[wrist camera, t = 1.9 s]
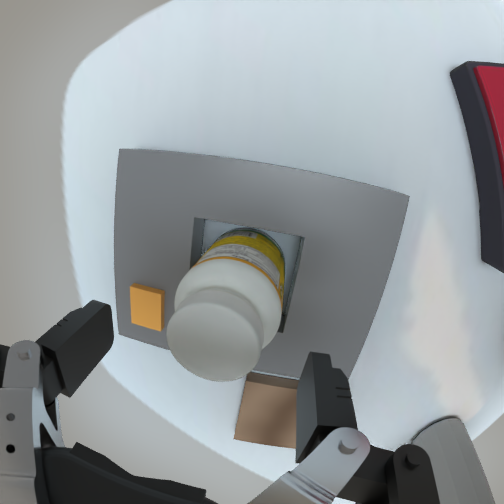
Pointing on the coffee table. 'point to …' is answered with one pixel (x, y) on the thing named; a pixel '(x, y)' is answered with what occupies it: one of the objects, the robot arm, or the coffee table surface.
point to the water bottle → (455, 463)
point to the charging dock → (262, 217)
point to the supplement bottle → (228, 306)
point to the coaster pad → (268, 411)
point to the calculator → (485, 147)
